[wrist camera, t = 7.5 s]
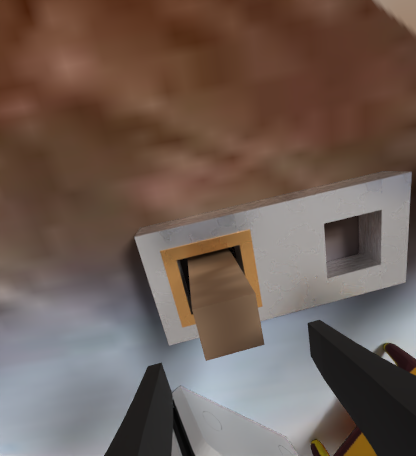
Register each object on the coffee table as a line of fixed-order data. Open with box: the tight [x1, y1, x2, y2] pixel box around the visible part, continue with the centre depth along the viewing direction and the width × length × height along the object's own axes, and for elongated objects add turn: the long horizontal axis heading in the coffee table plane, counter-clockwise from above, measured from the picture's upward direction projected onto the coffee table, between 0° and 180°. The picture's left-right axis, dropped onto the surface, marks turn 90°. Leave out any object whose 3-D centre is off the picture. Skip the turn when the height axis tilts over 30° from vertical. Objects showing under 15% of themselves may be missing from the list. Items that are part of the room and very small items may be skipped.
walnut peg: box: [187, 248, 264, 361], centre depth 17 cm, size 4×4×8 cm
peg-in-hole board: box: [134, 171, 412, 346], centre depth 20 cm, size 22×10×3 cm, turn 102°
